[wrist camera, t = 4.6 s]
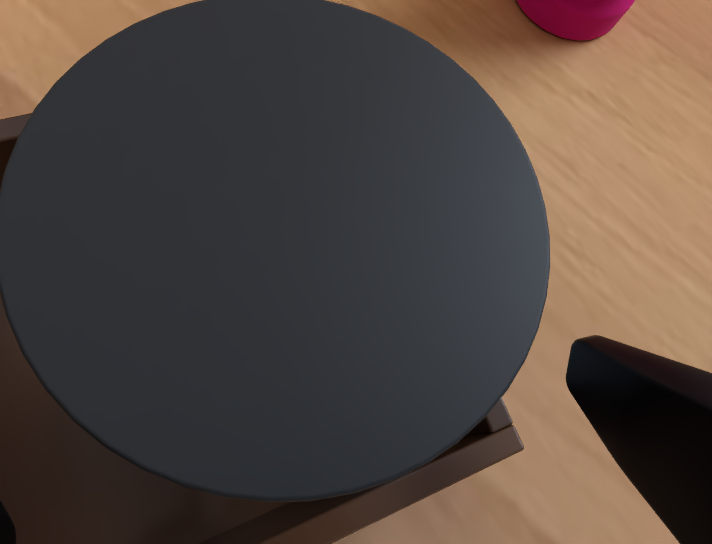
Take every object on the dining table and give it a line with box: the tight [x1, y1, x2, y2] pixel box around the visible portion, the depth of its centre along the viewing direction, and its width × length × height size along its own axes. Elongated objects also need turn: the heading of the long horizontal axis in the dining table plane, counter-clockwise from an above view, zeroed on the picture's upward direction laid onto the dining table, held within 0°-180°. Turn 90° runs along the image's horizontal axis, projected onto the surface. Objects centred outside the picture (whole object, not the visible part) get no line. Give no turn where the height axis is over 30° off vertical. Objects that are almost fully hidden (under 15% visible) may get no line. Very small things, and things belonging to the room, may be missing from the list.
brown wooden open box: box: [0, 113, 524, 544], centre depth 15 cm, size 18×13×6 cm
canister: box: [0, 0, 550, 502], centre depth 12 cm, size 7×7×12 cm
